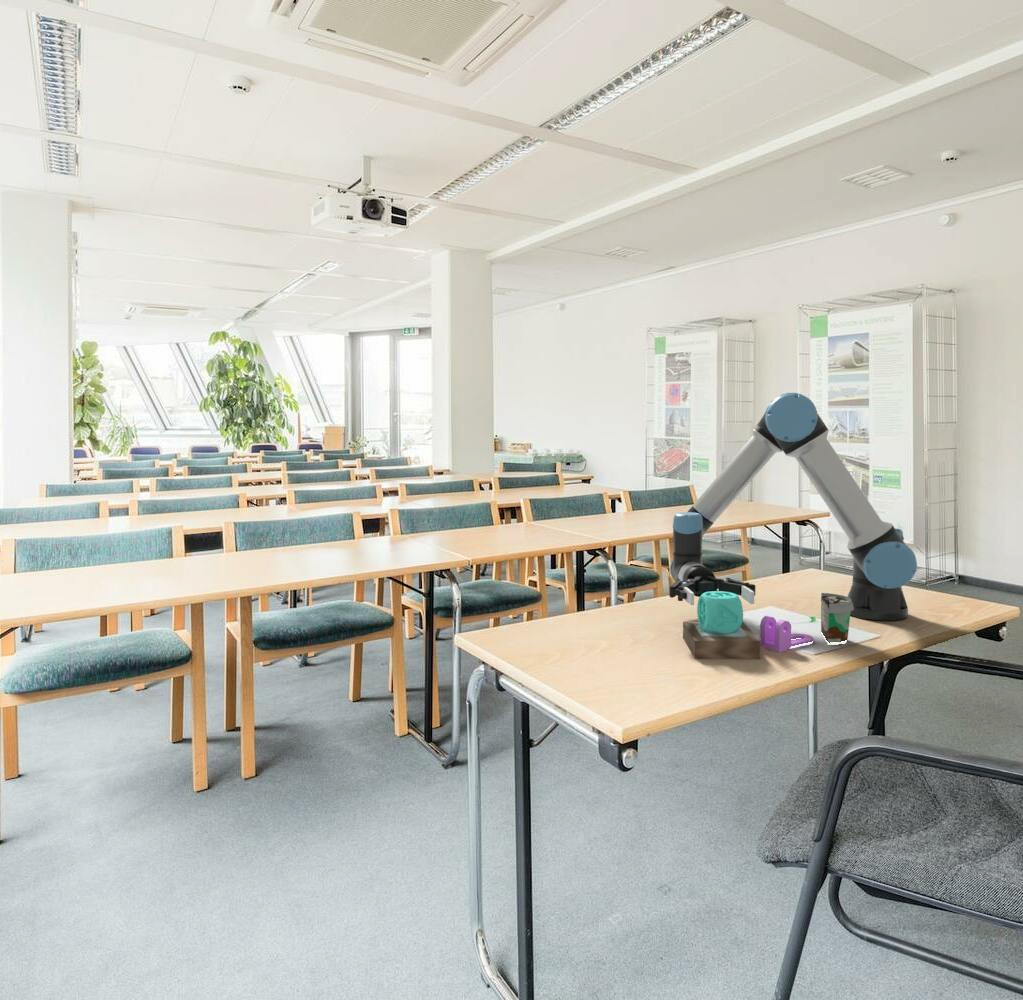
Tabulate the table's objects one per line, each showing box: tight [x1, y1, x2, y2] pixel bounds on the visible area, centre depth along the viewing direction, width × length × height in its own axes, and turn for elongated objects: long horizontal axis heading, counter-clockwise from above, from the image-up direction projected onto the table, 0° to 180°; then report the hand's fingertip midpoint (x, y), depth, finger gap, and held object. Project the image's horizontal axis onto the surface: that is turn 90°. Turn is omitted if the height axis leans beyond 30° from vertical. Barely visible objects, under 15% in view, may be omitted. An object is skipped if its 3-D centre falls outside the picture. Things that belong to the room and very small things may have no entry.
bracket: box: [759, 615, 814, 653], centre depth 174 cm, size 13×6×7 cm, turn 119°
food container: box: [820, 592, 854, 643], centre depth 176 cm, size 12×6×10 cm, turn 166°
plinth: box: [682, 621, 761, 660], centre depth 172 cm, size 14×16×4 cm
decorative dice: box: [696, 591, 744, 634], centre depth 172 cm, size 8×8×8 cm
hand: (722, 598), depth 170 cm, fingers open, 13 cm apart
